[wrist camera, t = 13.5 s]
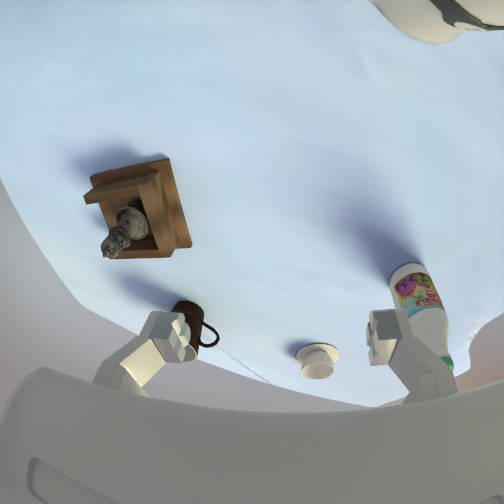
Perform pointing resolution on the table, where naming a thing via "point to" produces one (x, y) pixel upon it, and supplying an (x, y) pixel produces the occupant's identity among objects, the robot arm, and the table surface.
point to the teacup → (317, 360)
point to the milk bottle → (422, 308)
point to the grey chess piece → (126, 228)
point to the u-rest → (154, 201)
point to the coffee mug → (193, 328)
